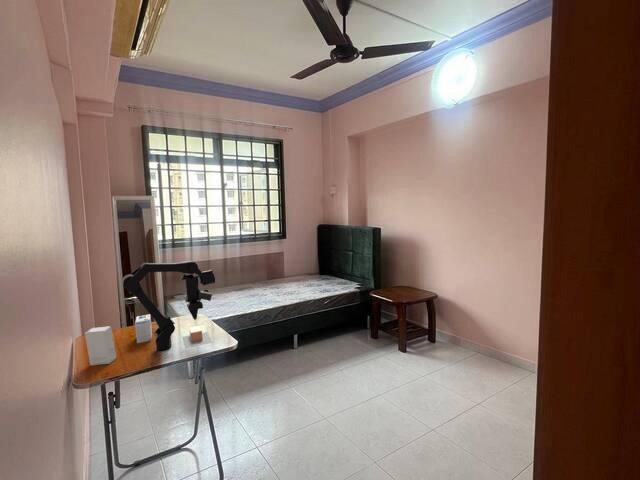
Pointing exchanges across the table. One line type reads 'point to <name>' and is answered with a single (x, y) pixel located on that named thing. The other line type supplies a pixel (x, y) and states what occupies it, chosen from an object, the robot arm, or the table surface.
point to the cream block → (195, 333)
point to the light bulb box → (143, 328)
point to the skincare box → (100, 345)
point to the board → (190, 343)
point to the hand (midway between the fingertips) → (195, 319)
